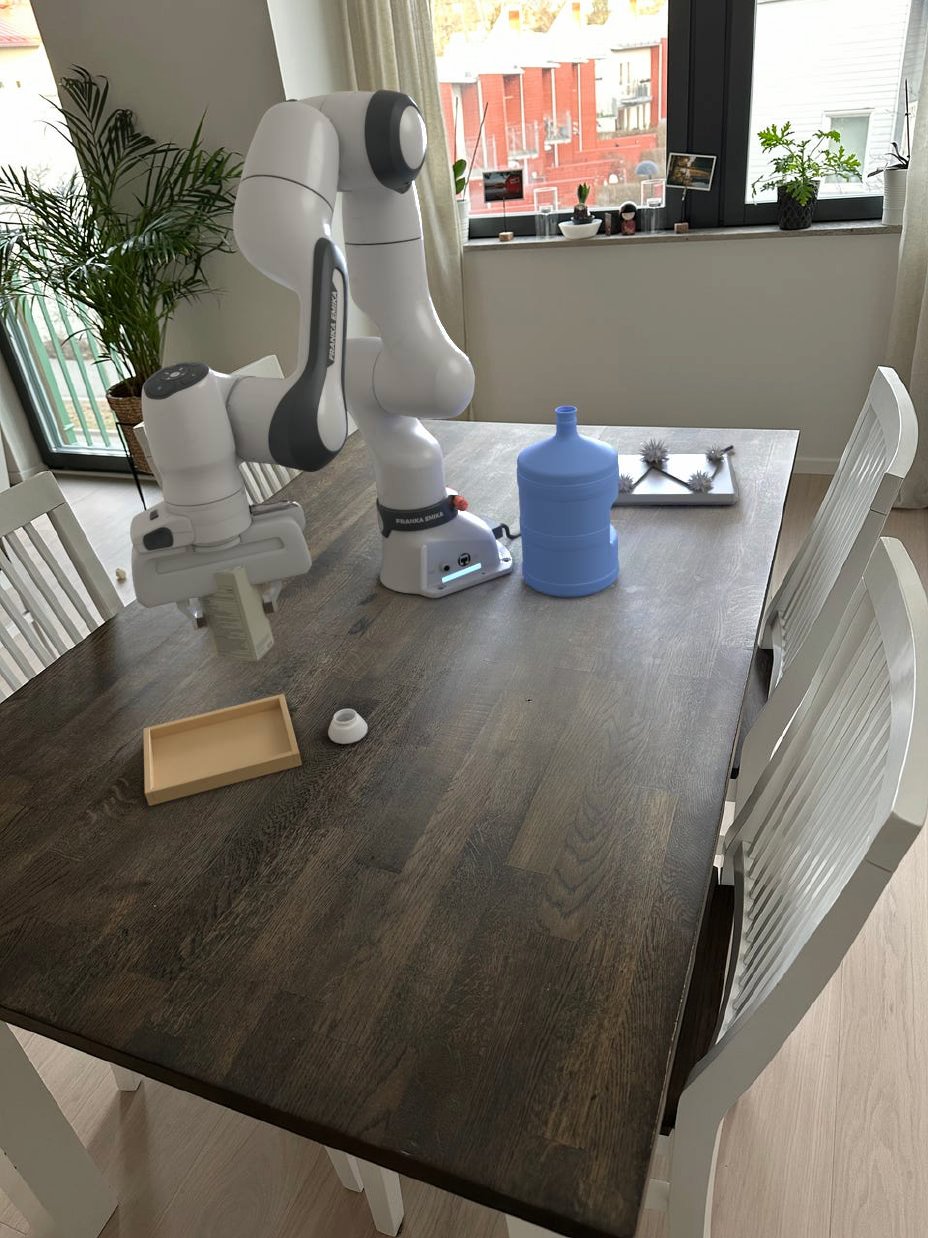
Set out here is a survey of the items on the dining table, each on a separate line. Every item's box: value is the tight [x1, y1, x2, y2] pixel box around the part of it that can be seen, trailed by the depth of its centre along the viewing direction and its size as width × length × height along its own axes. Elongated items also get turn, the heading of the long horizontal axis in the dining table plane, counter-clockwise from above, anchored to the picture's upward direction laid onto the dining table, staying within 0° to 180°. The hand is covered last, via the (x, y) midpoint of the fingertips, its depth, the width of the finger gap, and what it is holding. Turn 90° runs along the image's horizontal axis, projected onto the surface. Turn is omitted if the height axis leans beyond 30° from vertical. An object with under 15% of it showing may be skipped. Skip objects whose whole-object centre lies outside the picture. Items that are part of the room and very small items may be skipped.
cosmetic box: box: [197, 566, 275, 662], centre depth 108 cm, size 6×4×12 cm
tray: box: [142, 693, 303, 807], centre depth 116 cm, size 19×14×2 cm
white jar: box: [327, 708, 369, 745], centre depth 117 cm, size 5×3×5 cm
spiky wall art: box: [612, 438, 740, 506], centre depth 174 cm, size 30×22×7 cm
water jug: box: [516, 405, 620, 598], centre depth 141 cm, size 16×16×28 cm
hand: (236, 618), depth 109 cm, fingers closed on cosmetic box, 7 cm apart
